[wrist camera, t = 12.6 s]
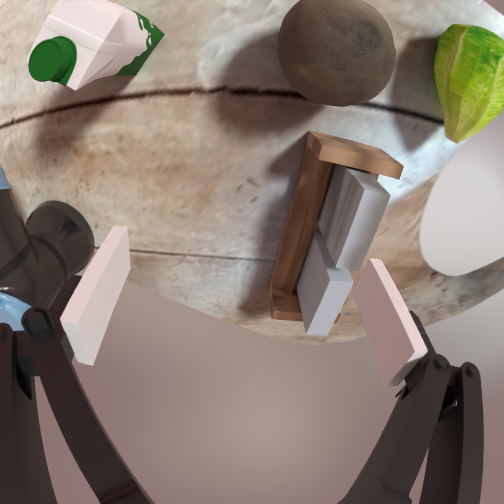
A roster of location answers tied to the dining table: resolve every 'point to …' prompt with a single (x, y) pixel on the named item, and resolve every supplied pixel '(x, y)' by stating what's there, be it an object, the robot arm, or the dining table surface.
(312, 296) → the gray angular faceted block
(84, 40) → the milk carton
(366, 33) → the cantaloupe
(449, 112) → the lettuce
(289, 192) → the dining table surface
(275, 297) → the wooden slotted stand
